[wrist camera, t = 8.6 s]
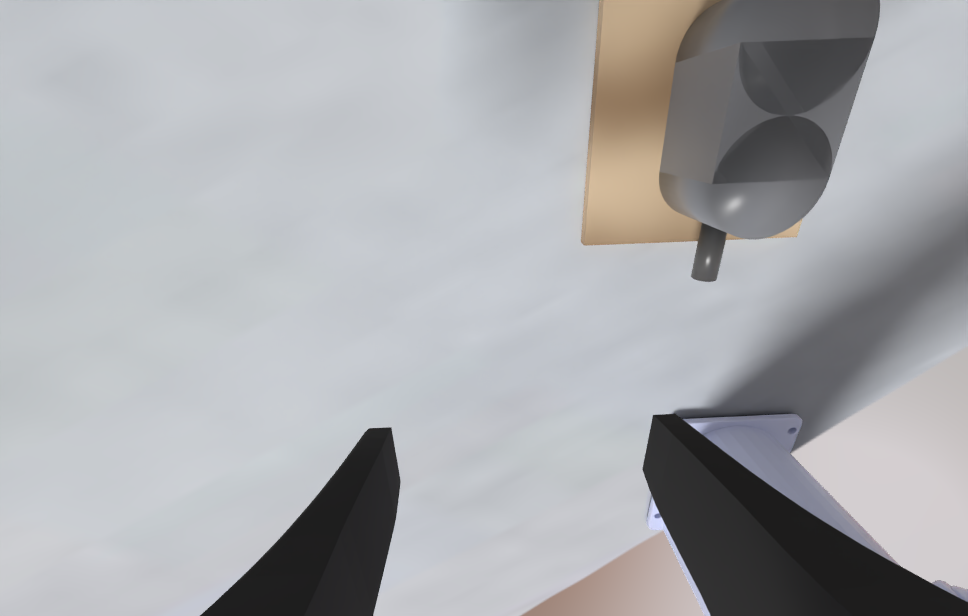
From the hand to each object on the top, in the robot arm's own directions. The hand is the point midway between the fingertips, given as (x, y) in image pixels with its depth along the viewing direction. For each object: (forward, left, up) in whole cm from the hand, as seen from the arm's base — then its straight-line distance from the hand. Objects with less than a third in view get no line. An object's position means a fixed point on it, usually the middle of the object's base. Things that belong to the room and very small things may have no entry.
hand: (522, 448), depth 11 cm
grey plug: (+7, -9, -9) cm, 15 cm away
